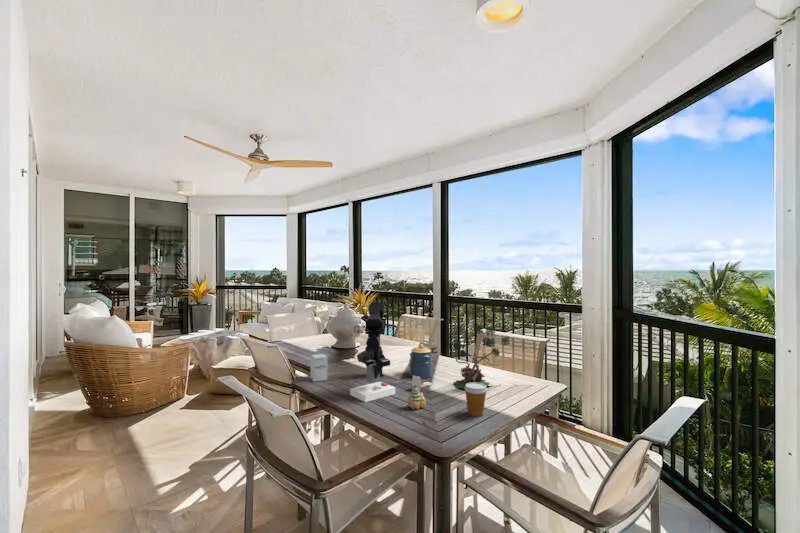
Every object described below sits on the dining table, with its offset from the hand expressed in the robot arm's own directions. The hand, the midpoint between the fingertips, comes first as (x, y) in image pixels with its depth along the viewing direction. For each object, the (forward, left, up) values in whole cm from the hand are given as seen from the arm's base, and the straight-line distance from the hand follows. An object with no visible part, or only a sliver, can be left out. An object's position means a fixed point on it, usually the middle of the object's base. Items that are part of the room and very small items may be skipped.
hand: (373, 377), depth 187 cm
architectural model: (-21, +9, -9) cm, 24 cm away
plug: (0, 0, -2) cm, 2 cm away
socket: (0, 0, -8) cm, 8 cm away
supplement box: (+8, -37, -8) cm, 39 cm away
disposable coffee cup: (-19, +46, -8) cm, 51 cm away
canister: (-40, -8, -8) cm, 42 cm away
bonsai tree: (-51, +26, -8) cm, 58 cm away
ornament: (-5, +25, -9) cm, 27 cm away
